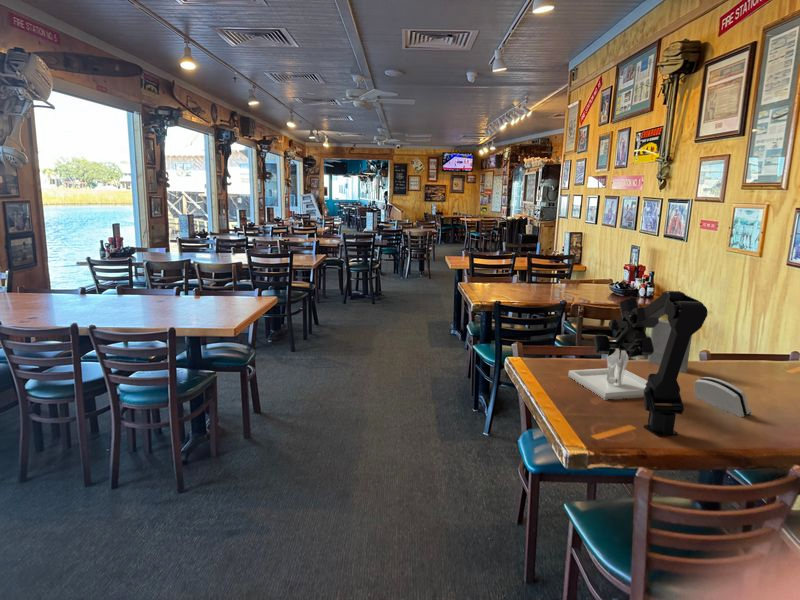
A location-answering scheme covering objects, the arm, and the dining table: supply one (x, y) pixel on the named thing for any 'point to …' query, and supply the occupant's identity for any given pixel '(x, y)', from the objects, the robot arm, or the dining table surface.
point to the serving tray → (596, 384)
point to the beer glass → (616, 366)
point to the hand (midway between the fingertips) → (614, 356)
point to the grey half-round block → (722, 395)
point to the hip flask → (664, 344)
